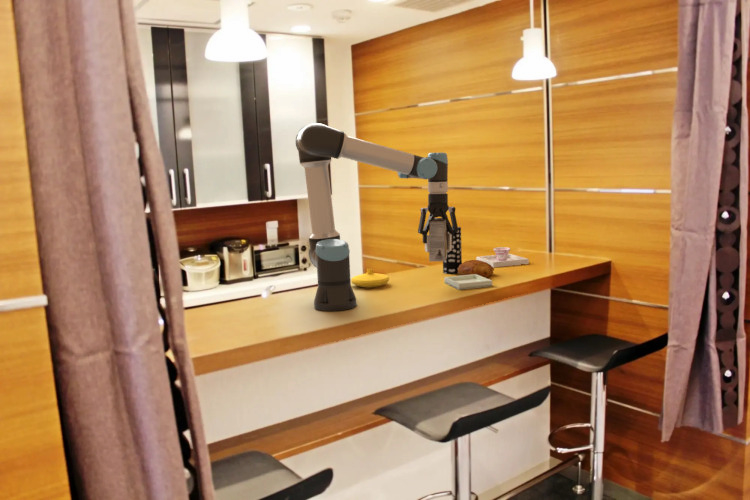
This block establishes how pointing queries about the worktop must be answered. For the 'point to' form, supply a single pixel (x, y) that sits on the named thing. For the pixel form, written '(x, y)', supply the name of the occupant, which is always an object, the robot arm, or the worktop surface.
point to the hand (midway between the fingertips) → (438, 250)
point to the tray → (468, 281)
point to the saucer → (517, 261)
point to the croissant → (476, 268)
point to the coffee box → (437, 239)
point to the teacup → (501, 254)
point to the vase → (370, 279)
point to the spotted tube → (453, 255)
